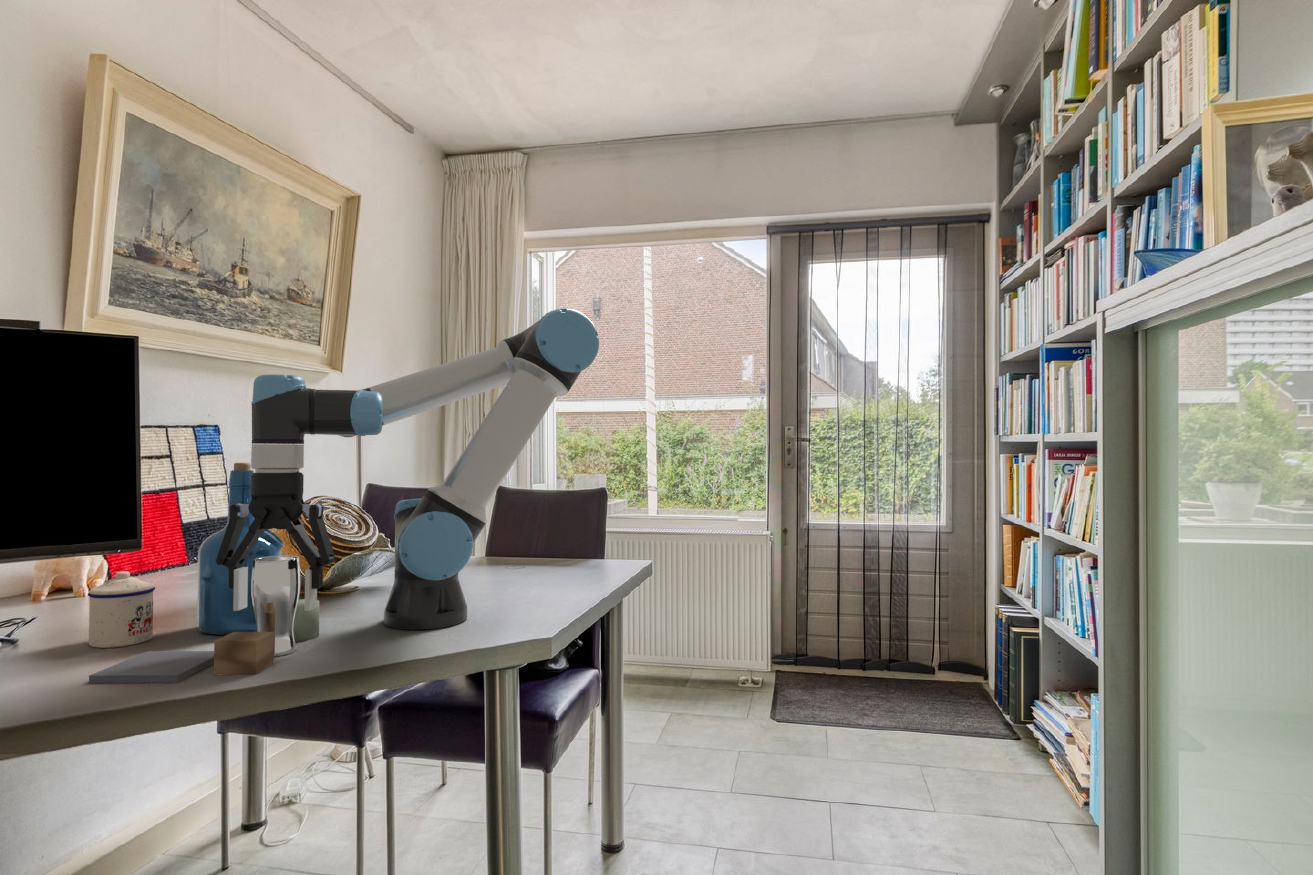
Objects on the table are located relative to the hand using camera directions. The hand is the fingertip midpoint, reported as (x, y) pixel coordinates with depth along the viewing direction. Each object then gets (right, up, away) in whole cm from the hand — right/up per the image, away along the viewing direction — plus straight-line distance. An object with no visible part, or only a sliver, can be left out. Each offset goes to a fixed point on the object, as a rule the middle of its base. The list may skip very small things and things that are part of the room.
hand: (275, 608), depth 115 cm
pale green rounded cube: (0, -7, +9) cm, 11 cm away
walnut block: (0, -7, -9) cm, 11 cm away
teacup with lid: (-29, -7, +7) cm, 31 cm away
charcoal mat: (-12, -7, -9) cm, 16 cm away
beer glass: (0, -7, 0) cm, 7 cm away
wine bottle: (-15, -7, +15) cm, 22 cm away
